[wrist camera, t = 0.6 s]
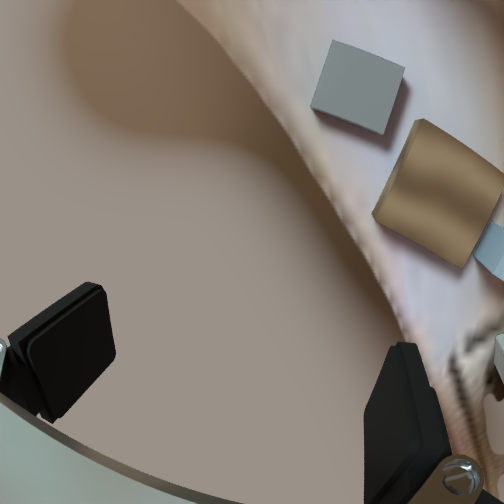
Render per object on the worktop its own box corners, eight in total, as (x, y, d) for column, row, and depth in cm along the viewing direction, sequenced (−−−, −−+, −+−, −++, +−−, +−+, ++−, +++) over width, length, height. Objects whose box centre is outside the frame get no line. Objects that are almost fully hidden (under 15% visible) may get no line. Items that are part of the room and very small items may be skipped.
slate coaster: (332, 47, 30) (332, 39, 27) (399, 73, 29) (405, 67, 26) (311, 109, 33) (310, 106, 30) (378, 135, 32) (383, 134, 29)
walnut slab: (413, 120, 30) (423, 118, 27) (492, 172, 30) (507, 176, 26) (371, 212, 35) (376, 221, 31) (450, 256, 34) (461, 269, 31)
